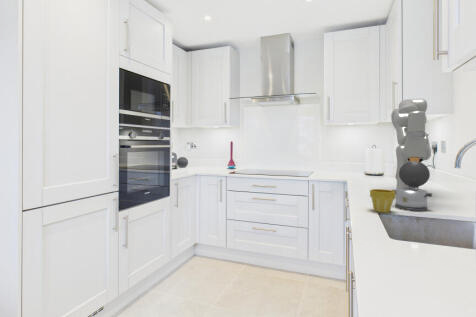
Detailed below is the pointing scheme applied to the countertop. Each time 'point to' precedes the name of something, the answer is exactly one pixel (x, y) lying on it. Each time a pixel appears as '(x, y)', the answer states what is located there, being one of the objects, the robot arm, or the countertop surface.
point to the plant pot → (382, 199)
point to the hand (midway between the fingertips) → (415, 171)
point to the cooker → (411, 199)
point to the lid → (414, 173)
